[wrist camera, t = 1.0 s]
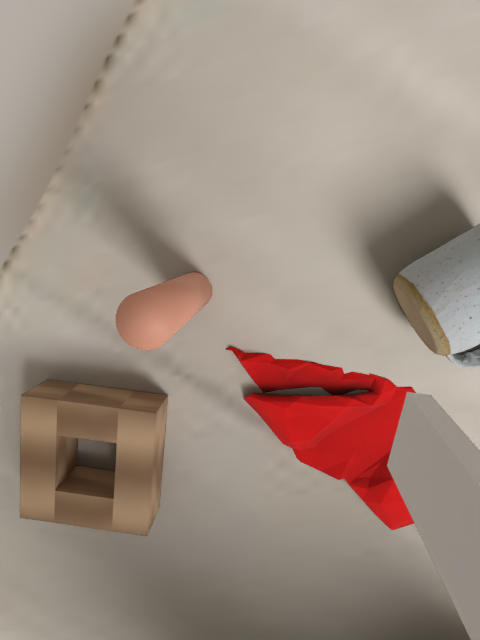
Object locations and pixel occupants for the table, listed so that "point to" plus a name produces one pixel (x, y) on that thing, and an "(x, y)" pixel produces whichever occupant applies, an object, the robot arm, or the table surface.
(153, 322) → the dowel
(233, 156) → the table surface
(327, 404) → the cloth
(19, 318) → the table surface
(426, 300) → the ceramic mug
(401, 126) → the table surface
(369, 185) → the table surface
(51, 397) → the square frame
